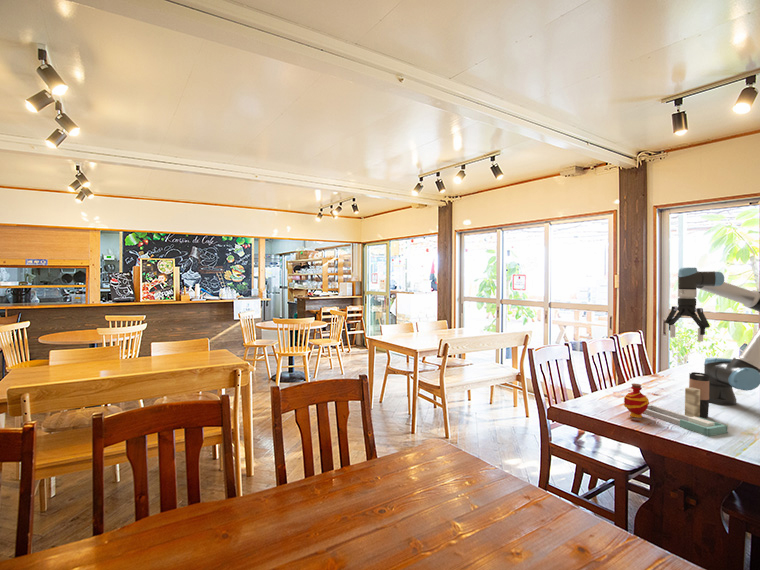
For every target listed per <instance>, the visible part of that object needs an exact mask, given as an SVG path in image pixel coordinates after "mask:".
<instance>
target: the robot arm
mask: <svg viewBox="0 0 760 570" xmlns="http://www.w3.org/2000/svg"><path fill="white" fill-rule="evenodd" d="M697 289H699V290H700V291H701V290H702V291H705V292H706V293H707V292H708V293H711V294H714V295H716V296H719V297H722V298H724V299H728V300H731V301H734V302H737V303H739V304H742V305H743V306H744V307H746V308H748V309H751V310H753V311H757V312H760V291H759V290H756V289H755V290H749V289H746V288H743V287H740V286H738V285H734V284H731V283H729V282H726V281H725V275H724V273H722V272H720V271H698V268H697V267H680V268H679V269H678V273H677V297H678V298H677V306H671V309H670V312H669V313H668V315H667V317H666V319H665V321H664V323H665V324H667V325H668V331H669V337H670V338H676V323H677V322H678V321H679V319H680V318H682V317H684V316H685V317H690V318H691V319H693V322H695V323H696V325H697V326H698V328H697V342H698V343H699V342H700V343H701V342H704V335H706V329H707V328H710V327H711V325H710V323H709V321H708V320H707V317H706V315H705V314H704V308H702V307H698V308H697V291H698V290H697ZM677 311H678V312H677ZM703 365H704V367H703V368H704V374H708V375H709V403H710V404H711V403H712V404H718V405H724V406H726V405H727V406H735V405H736V404H737V398H736V395H735V393H734V390H733V389H736V390H740V391H745V392H748V391H752V390H755V389H757V388H758V387H759V386H760V327H759V328H758V329H757V330H756V332H755V334H754V335H753V337H752V338H751V339H750V341H749V342H748V344H747V345H746V346H745V348H744V349H743V351H742V352H741V353H740V355H739V356H736V357H733V358H723V357H721V358H720V357H707V358H705V359H704V364H703Z"/></svg>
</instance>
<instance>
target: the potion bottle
mask: <svg viewBox="0 0 760 570" xmlns="http://www.w3.org/2000/svg"><path fill="white" fill-rule="evenodd" d="M631 389H632V391H631V392H628V393H627V394H625V396H624V397H623V403H624V404H623V406H624V407H625V408H626V409H627V411H628V412H629V413H630V414H629V416H630V417H632V418H639V419H640V418H641V419H642V418H643V415H642V414H645V413H644V412H645V411H646V409H647V407H648V405H650V400H649V398H648V397H647V396H646V395H644V394H643V393H642V392H641V391H642V390H643V389H642V384H639V383H631Z"/></svg>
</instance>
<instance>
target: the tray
mask: <svg viewBox="0 0 760 570" xmlns="http://www.w3.org/2000/svg"><path fill="white" fill-rule="evenodd" d="M698 418H701V417H698ZM701 419H704V420H708V421H711V422H714V423H715V426H711V427H703V426H700V425H697V424H694V423H691V422H688V421H685V420H682V419H679V420H680V425H679V427H681V428H683V429H687V430H689V431H693V432H696V433H699V434H702V435H704V436H706V437H711V436H716V435H722V434H723V435H724V434H728V429H729V427H728V425H727V424H724V423H720V422H717V421H714V420H711V419H708V418H701Z"/></svg>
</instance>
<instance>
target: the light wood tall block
mask: <svg viewBox="0 0 760 570" xmlns="http://www.w3.org/2000/svg"><path fill="white" fill-rule="evenodd" d="M684 389H685V391H684V395H685V396H684V415H686V416H689V417H700V389H696V388H692V387H690V388H689V387H685V388H684Z"/></svg>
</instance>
